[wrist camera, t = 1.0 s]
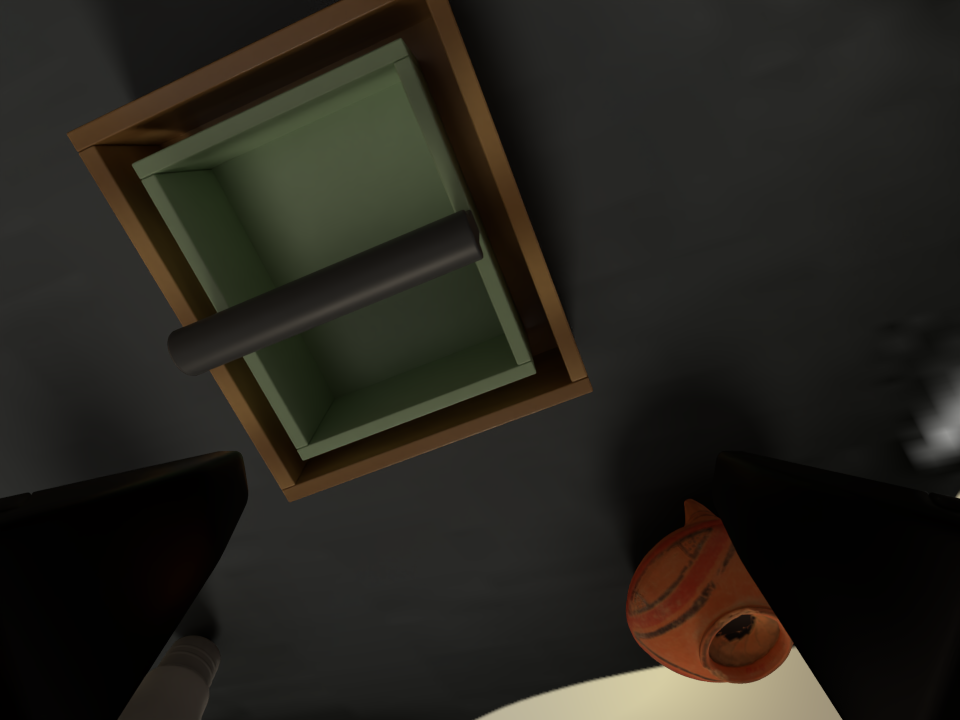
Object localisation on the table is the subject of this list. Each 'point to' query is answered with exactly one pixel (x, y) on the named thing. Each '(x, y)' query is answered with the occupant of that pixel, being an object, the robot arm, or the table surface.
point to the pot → (704, 606)
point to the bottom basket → (467, 120)
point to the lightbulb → (177, 683)
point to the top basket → (340, 255)
